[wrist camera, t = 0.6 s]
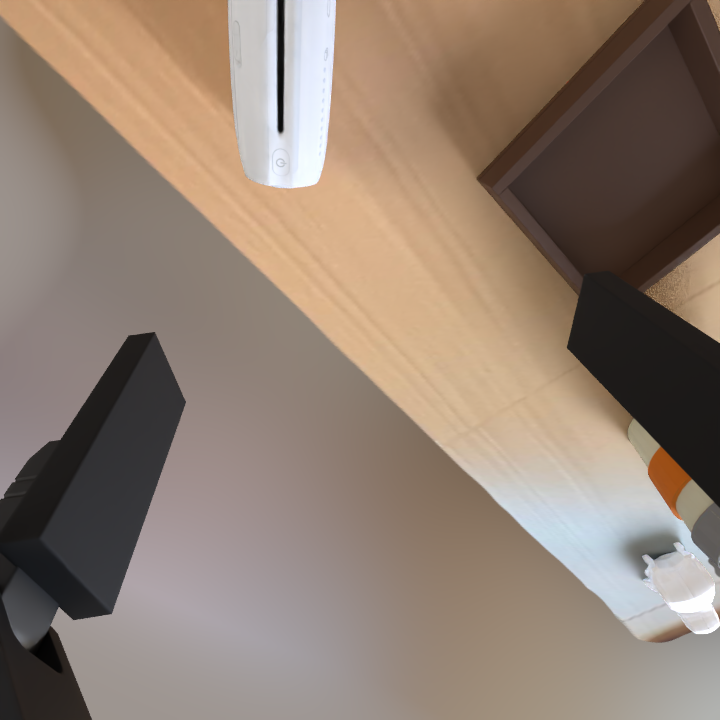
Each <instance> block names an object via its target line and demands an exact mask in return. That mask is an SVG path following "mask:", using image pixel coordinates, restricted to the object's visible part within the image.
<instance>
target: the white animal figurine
mask: <svg viewBox="0 0 720 720" xmlns="http://www.w3.org/2000/svg"><path fill="white" fill-rule="evenodd" d="M674 546H675V549H676V551H675V552H673V553H669V554H665V555H662V556H660V557H658V558H657V559H655V560H653V559H652V558H651V557H650V556H648V555H647V554H646V555H643V556H642V557H643V559H644V561H645V562H646V563H647V564H648V568H647V569H646V570H645V571H644V572H645V574H646V575H647V576H648V577H649V578H647V579H643V582H644V584H645V585H646V586H647V587H648V588H650V589H651V590H653V591H655V592H657V593H659V594H660V595H661V597H662V598H663V599H664V601H665V602H666V604H667V605H668V606H669V607H670V609H671V610H674V611H676V612H677V614H678V615H679V617H680V618H681V620H682V621H683V622H684V624H685V625H686V626H687V627H688V628H689V629H690V630H691V631H692V632H694V633H695V634H707V633H711V632H712V631H714V630H716V629H717V628H718V627H719V626H720V622H719V618H718V615H717V613H716V612H715V610H714V608H713V606H712V605H711V602H712V600H713V596H714V595H715V583H714V580H713V579H712V577H711V575H710V574H709V573H708V571H707V570H706V569H705V567H704V566H703V564H702V563H701V562H700V561H699V560H698V559H697V558H696V557H695V555H694V554H693V553H690V552H687V551H685V548H684V546H683V545H681V544H680V543H679V542H677V543H674Z"/></svg>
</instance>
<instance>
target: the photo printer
mask: <svg viewBox="0 0 720 720" xmlns="http://www.w3.org/2000/svg"><path fill="white" fill-rule="evenodd" d="M335 12H336V0H228V28H229V53H230V72H231V87H232V99H233V112H234V122H235V131H236V136H237V140H238V149H239V153H240V158H241V162H242V165H243V169H244V172H245V175H246V176H247V178H249V179H250V180H252V181H254V182H257V183H260V184H263V185H268V186H272V187H277V188H295V187H306V186H310V185H314V184H316V183H317V182H318V181H319V178H320V175H321V172H322V169H323V164H324V159H325V154H326V146H327V136H328V127H329V115H330V104H331V90H332V73H333V57H334V37H335Z"/></svg>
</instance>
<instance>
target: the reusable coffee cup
mask: <svg viewBox="0 0 720 720" xmlns="http://www.w3.org/2000/svg"><path fill="white" fill-rule="evenodd" d="M628 438H629V440H630V442H631V443H632V445H633V446H634V448H635V449H636V451H637V452H638V454H639V455H640V457H641V458H642V460H643V461H644V463H645V464H646V466H647V467H648V475H649V477H650V479H651V481H652V482H653V484H654V485H655V487H656V488H657V490H658V491H659V493H660V494H661V496H662V497H663V499H664V500H665V502H666V503H667V505H668V506H669V508H670V510H671V511H672V513H673V514H674V515H675V516H676V517H677V518H678V519H680V520H683V521H684V523H685V524H686V526H687V527H688V529H689V530H690V532H691V538H692V540H693V542H694V543H695V544H696V545H697V546H698V547H699V548H700V549H701V550H702V551H703V552H704V553H705V554H706V555H707V556H708V557H709V558H710V559H711V560H712V561H713V562H714V563H715V564H716V565H717V566H718V567H719V568H720V508H719V507H718V506H717V505H716V504H715V503H714V502H713V501H712V500H711V498H710V497H709V496H708V495H707V494H706V493H705V492H704V491H703V490H702V489H701V488H700V487H699V486H698V485H697V484H696V483H695V482H694V481H693V480H692V479H691V477H690V476H689V475H688V474H687V473H686V472H685V471H684V470H683V469H682V468H681V467H680V466H679V465H678V464H677V463H676V462H675V461H674V460H673V459H672V458H671V457H670V455H669V454H668V453H667V452H666V451H665V450H664V449H663V448H662V447H661V446H660V445H659V444H658V443H657V442H656V441H655V440H654V439H653V438H652V437H651V436H650V434H649V433H648V432H647V431H646V430H645V429H644V428H643V427H642V426H641V425H640V424H639V423H638V422H637V421H636V420H635V419H633V420H632V422H631V423H630V426H629V428H628Z"/></svg>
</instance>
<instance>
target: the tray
mask: <svg viewBox="0 0 720 720" xmlns="http://www.w3.org/2000/svg"><path fill="white" fill-rule="evenodd" d="M477 180H478V181H479V182H480V184H481V185H482V186H483V187H484V188H485V189H486V190H487V192H488V193H489V194H490V195H491V196H492V197H493V198H494V200H495V201H496V202H497V203H498V204H499V205H500V206H501V208H502V209H503V210H504V211H505V212H506V213H507V214H508V216H509V217H510V218H511V219H512V220H513V221H514V222H515V224H516V225H517V226H518V227H519V228H520V229H521V230H522V232H523V233H524V234H525V235H526V236H527V237H528V239H529V240H530V241H531V242H532V243H533V244H534V245H535V247H536V248H537V249H538V250H539V251H540V252H541V253H542V255H543V256H544V257H545V258H546V259H547V260H548V261H549V263H550V264H551V265H552V266H553V267H554V268H555V269H556V271H557V272H558V273H559V274H560V275H561V276H562V277H563V279H564V280H565V281H566V282H567V283H568V284H569V285H570V287H571V288H572V289H573V290H574V291H575V292H576V293H577V295H578V296H579V294H580V290H581V286H582V281H583V277H584V274H586V273H593V272H601V271H610V272H611V273H613V274H614V275H616V276H618V277H619V278H621V279H622V280H624V281H625V282H627V283H628V284H630V285H631V286H633V287H634V288H636V289H637V290H639V291H640V292H642V293H644V292H645V291H646V290H648V289H649V288H650V287H651V286H653V285H654V284H655V283H657V282H658V281H659V280H660V279H662V278H663V277H664V276H666V275H667V274H668V273H669V272H671V271H672V270H673V269H674V268H676V267H677V266H678V265H680V264H681V263H682V262H683V261H685V260H686V259H687V258H689V257H690V256H691V255H692V254H694V253H695V252H696V251H698V250H699V249H700V248H701V247H703V246H704V245H705V244H707V243H708V242H709V241H710V240H712V239H713V238H714V237H716V236H717V235H718V234H719V233H720V32H719V29H718V27H717V24H716V22H715V19H714V17H713V14H712V12H711V9H710V7H709V5H708V2H707V0H645V1H644V2H643V3H642V4H641V5H640V6H639V8H638V9H637V10H636V11H635V12H634V13H633V14H632V15H631V16H630V17H629V18H628V19H627V20H626V21H625V22H624V23H623V24H622V25H621V27H620V28H619V29H618V30H617V31H616V32H615V33H614V34H613V35H612V36H611V37H610V38H609V39H608V40H607V41H606V42H605V43H604V44H603V46H602V47H601V48H600V49H599V50H598V51H597V52H596V53H595V54H594V55H593V56H592V57H591V58H590V59H589V60H588V61H587V62H586V63H585V65H584V66H583V67H582V68H581V69H580V70H579V71H578V72H577V73H576V74H575V75H574V76H573V77H572V78H571V79H570V80H569V81H568V82H567V84H566V85H565V86H564V87H563V88H562V89H561V90H560V91H559V92H558V93H557V94H556V95H555V96H554V97H553V98H552V99H551V100H550V101H549V103H548V104H547V105H546V106H545V107H544V108H543V109H542V110H541V111H540V112H539V113H538V114H537V115H536V116H535V117H534V118H533V119H532V120H531V122H530V123H529V124H528V125H527V126H526V127H525V128H524V129H523V130H522V131H521V132H520V133H519V134H518V135H517V136H516V137H515V138H514V139H513V141H512V142H511V143H510V144H509V145H508V146H507V147H506V148H505V149H504V150H503V151H502V152H501V153H500V154H499V155H498V156H497V157H496V158H495V160H494V161H493V162H492V163H491V164H490V165H489V166H488V167H487V168H486V169H485V170H484V171H483V172H482V173H481V174H480V175H479V176H478V177H477Z"/></svg>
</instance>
